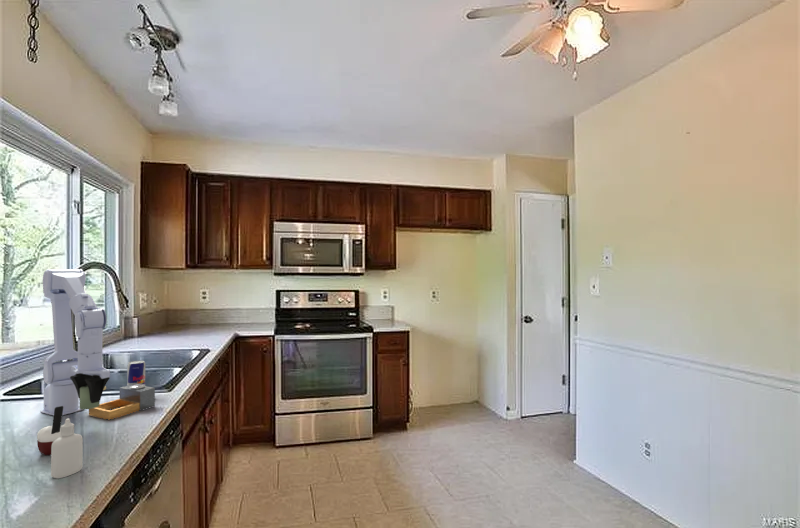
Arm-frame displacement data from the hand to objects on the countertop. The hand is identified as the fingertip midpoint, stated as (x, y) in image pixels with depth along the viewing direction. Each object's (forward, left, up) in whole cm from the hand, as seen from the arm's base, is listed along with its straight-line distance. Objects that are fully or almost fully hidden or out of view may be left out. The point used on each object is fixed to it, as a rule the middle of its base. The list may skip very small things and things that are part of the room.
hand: (89, 400), depth 127 cm
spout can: (0, 0, -2) cm, 2 cm away
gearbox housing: (-6, +13, -8) cm, 17 cm away
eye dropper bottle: (+24, -19, -8) cm, 32 cm away
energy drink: (-16, +25, -8) cm, 31 cm away
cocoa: (+9, -14, -8) cm, 18 cm away
